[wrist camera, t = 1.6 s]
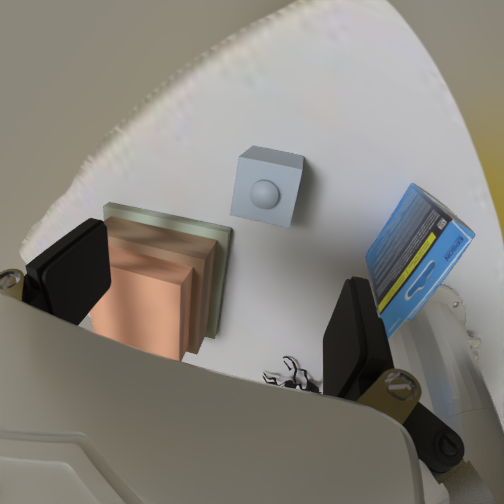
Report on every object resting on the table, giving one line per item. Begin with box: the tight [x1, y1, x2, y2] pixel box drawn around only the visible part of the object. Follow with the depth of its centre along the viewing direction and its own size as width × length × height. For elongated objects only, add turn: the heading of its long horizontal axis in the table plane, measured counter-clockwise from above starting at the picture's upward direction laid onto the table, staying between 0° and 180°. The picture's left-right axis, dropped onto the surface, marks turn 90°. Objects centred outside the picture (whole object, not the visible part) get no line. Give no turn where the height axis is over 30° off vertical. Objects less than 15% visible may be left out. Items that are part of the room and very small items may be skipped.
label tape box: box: [365, 183, 475, 340], centre depth 22 cm, size 9×4×12 cm, turn 156°
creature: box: [263, 357, 322, 394], centre depth 36 cm, size 8×5×8 cm
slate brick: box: [230, 146, 303, 228], centre depth 24 cm, size 4×4×7 cm
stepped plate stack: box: [90, 202, 231, 361], centre depth 30 cm, size 14×14×8 cm
